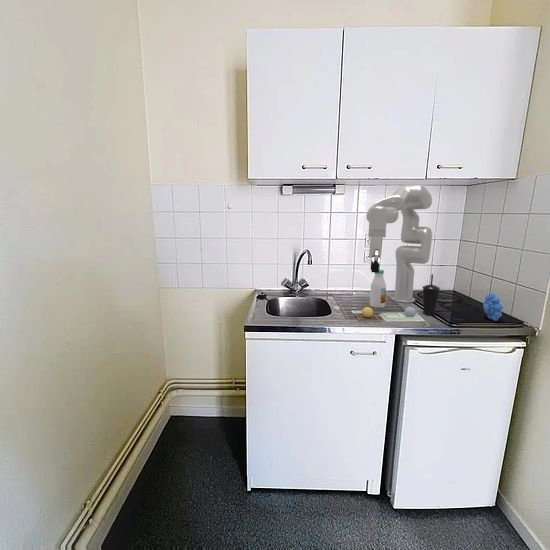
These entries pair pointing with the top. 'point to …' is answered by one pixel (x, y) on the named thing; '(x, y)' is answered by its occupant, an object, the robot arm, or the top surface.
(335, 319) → the top surface
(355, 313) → the tile
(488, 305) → the grapes
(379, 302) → the milk bottle
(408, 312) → the slate ball
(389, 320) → the rack
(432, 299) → the drinking cup
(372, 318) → the coaster
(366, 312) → the ochre ball
